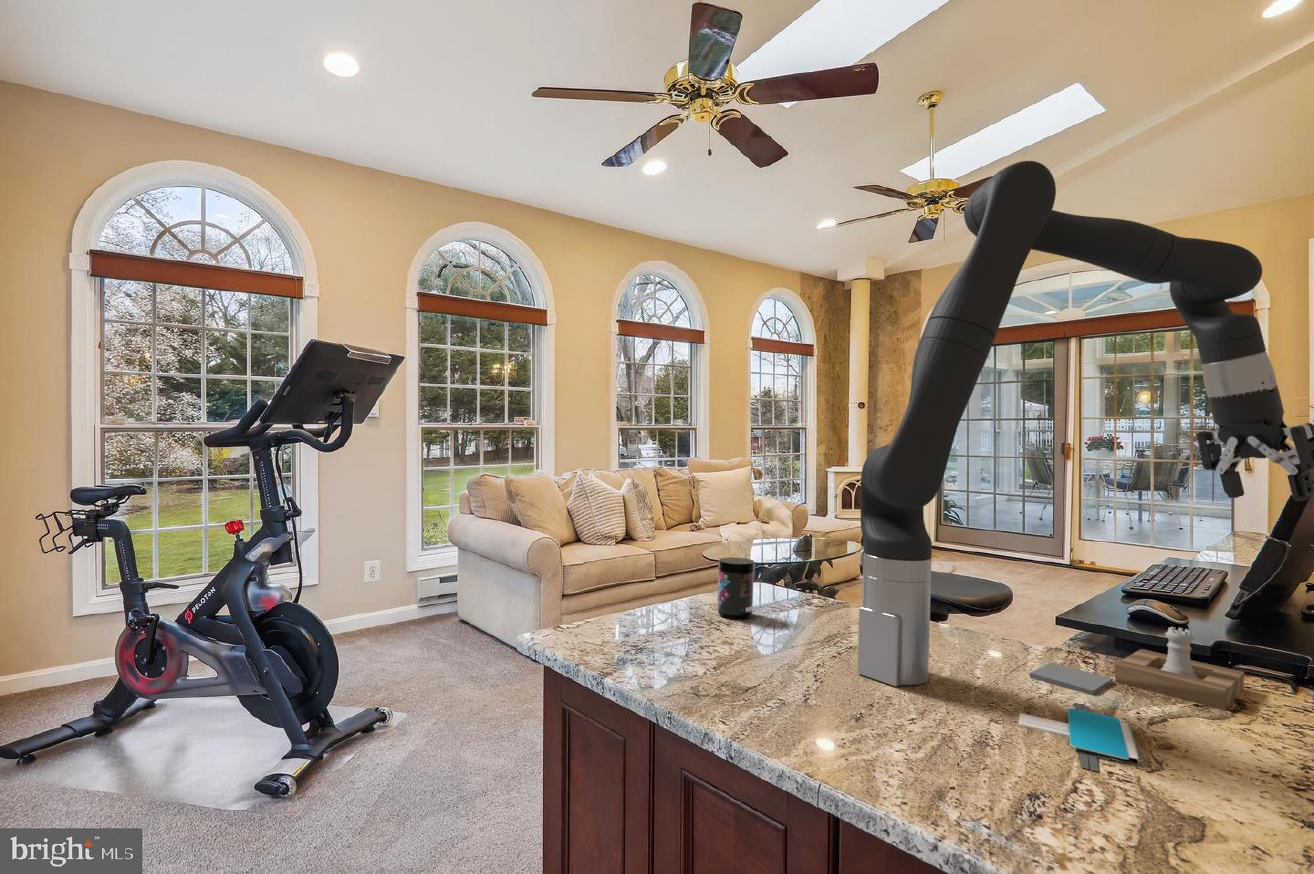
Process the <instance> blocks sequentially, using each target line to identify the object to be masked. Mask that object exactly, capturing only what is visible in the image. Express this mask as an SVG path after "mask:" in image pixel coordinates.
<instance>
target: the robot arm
mask: <svg viewBox="0 0 1314 874" xmlns="http://www.w3.org/2000/svg"><path fill="white" fill-rule="evenodd" d="M1056 187H1057V186H1056V182H1055V178H1054V176H1053V173H1052V172H1051V171H1050V169H1049V168H1048V167H1047V166H1045V164H1043V163H1040V161H1039V162H1037V161H1034V160H1022V161H1018V162H1015V163H1012V164H1010V165H1008V166H1006V167H1004V168H1002V169H1001V170H999V171H998V172H997V173H995V174H994V175H993V176H991V177H989V179H987V181H985V182H984V183H982V184H981V185H980V186H979V187H978V188H977V189H975V191H973V192H972V194H970V196H969V197H968V199H967V201H966V202H965V205H964V208H963V210H964V211H963V218H964V222H965V225H966V227H967V229H968V230H969V232H970V233H971V234H972V235H974V237H975V241H974V243H973V245H972V248H971V250H970V251H969V254H968V255H967V257H966V259H965V260H964V262H963V264H961V266H960V268H959V269H958V271H957V272H956V273H955V275H954V276H953V277H952V279H951V281H949V283H948V285H947V286H946V288H945V289H944V290H943V292H942V294H941V295H940V296H939V298H938V300H937V301H936V303H935V305H934V307H933V309H932V311H931V312H930V315H929V317H928V319H927V322H926V324H925V326H924V330H923V332H922V334H921V336H920V339H919V342H918V345H917V347H916V351H915V354H914V359H913V366H912V375H911V384H910V385H911V387H910V393H909V394H910V395H909V398H908V404H907V407H906V410H905V413H904V414H903V415H904V416H903V417H902V419H901V422H900V423H899V426H898V428H897V431H896V433H895V435H894V436H893V438H892V440H891V442H890V444H887V445H883V446H880V447H878V448H876V449H874V450H873V451H872V452H871V453H870V454H869V455H868V456H867V457H866V459H865V460H864V462H863V465H862V469H861V474H860V529H861V533H862V539H863V565H862V566H863V569H862V596H861V597H862V600H861V601H862V602H861V607H860V608H858V609H859V610H858V635H857V636H858V638H857V639H858V642H857V643H858V644H857V645H858V646H857V671H856V673H857V674H858V675H863V677H867V678H870V679H873V680H876V681H879V682H882V683H885V684H888V685H890V686H893V687H898V686H915V685H916V686H917V685H922V684H925V683H926V682H928V681H929V673H930V672H929V669H930V668H929V667H930V666H929V665H930V662H929V661H930V631H931V630H930V629H931V628H930V625H931V624H930V620H931V593H932V592H931V589H932V588H931V587H932V586H931V585H932V580H931V579H932V555H933V552H932V551H933V548H932V546H933V542H932V539H931V536H930V535H929V533H928V530H927V527H926V523H925V516H924V514H925V513H924V509H925V508H924V507H925V506H928V504H929V503H930V502H932V501H933V500H934V498H935V497H936V496H937V494H938V493H939V491H940V488H941V485H942V483H943V480H944V476H945V473H946V469H947V465H948V462H949V458H950V454H951V451H952V447H953V443H954V439H955V437H956V433H957V429H958V427H959V425H960V422H961V419H962V416H963V415H964V413H965V410H966V409H967V406H968V403H969V401H970V399H971V397H972V395H973V391H974V389H975V386H976V385H977V382H978V380H979V377H980V374H981V373H982V370H983V368H984V366H985V365H986V362H987V359H988V358H989V354H990V352H991V349H992V348H993V344H994V341H995V339H996V338H997V334H998V331H999V329H1000V326H1001V322H1002V319H1003V317H1004V314H1005V312H1006V310H1007V307H1008V306H1009V302H1010V300H1011V297H1012V294H1013V293H1014V292H1013V291H1014V290H1015V286H1016V284H1017V281H1018V279H1019V275H1020V274H1021V271H1022V269H1023V266H1024V264H1025V263H1026V260H1027V258H1028V256H1029V254H1030V252H1031V251H1032V250H1033V251H1038V252H1041V253H1047V254H1050V255H1057V256H1060V257H1065V258H1068V259H1072V260H1075V261H1079V262H1082V263H1087V264H1090V265H1093V266H1097V267H1099V268H1103V269H1106V270H1108V271H1112V272H1114V273H1117V274H1118V275H1123V276H1125V277H1129V278H1132V279H1134V280H1137V281H1140V282H1142V283H1147V284H1152V285H1156V284H1158V285H1159V284H1165V283H1169V293H1170V298H1171V300H1172V302H1173V304H1174V306H1175V308H1176V309H1177V311H1178V313H1179V314H1180V316H1181V318H1182V319H1183V321H1184V324H1186V326H1187V327H1188V329H1189V330H1190V332H1191V334H1192V335H1193V336H1194V338H1195V341H1196V346H1197V350H1198V354H1199V358H1200V363H1201V366H1202V377H1203V384H1204V388H1205V391H1206V392H1205V393H1206V397H1207V400H1208V404H1209V407H1210V411H1211V416H1212V419H1213V423H1214V424H1215V425H1216V426H1218V429H1216V428H1211V429H1210V428H1209V429H1207V430H1203V431H1199V432H1198V433H1197V434H1196V437H1197V442H1198V447H1199V448H1198V449H1199V452H1200V458H1201V463H1202V467H1203V469H1204V470H1207V471H1208V470H1209V471H1210V470H1211V471H1215V472H1216V473H1217V474H1219V476H1220V480H1221V481H1220V482H1221V485H1222V489H1223V492H1224V493H1225V495H1227V497H1228V498H1229V499H1237V498H1241V497H1243V496H1244V495H1245V490H1244V487H1243V483H1242V478H1241V474H1240V471H1239V470H1238V468H1239V466H1240V464H1241V463H1242V461H1243V460H1244V459H1245V460H1247V459H1250V458H1254V459H1268V460H1270V461H1271V462H1272V463H1273V464H1277V465H1279V466H1280V467H1281V468H1282V469H1283V470H1285V472H1287V473H1288V475H1286V477H1287V479H1288V483H1289V488H1290V491H1291V492H1290V493H1291V496H1292V499H1293V501H1297V502H1303V501H1306V500H1310V499H1311V498H1312V495H1314V486H1313V482H1312V478H1311V471H1312V470H1314V423H1312V422H1307V423H1303V424H1298V425H1293V426H1288V425H1286V423H1285V422H1284V419H1283V418H1284V414H1285V409H1284V405H1283V402H1282V397H1281V394H1280V390H1279V386H1278V382H1277V378H1276V373H1275V370H1274V366H1273V364H1272V361H1271V360H1270V357H1269V355H1268V352H1267V349H1266V345H1265V344H1266V343H1265V341H1264V337H1263V333H1262V329H1261V325H1260V323H1259V320H1258V318H1257V317H1255V316H1254V315H1252V314H1250V313H1249V314H1247V313H1235V312H1234V311H1233V310H1232V309H1231V307H1229V305H1228V303H1227V302H1226V300H1231V299H1234V298H1237V297H1240V296H1242V295H1245V294H1248V293H1249V292H1250V291H1252V290H1253V289H1255V288H1256V286H1257V285H1258V284H1259V283H1260V282H1261V279H1262V276H1263V266H1262V263H1261V261H1260V259H1259V258H1258V257H1257V255H1255V254H1254V253H1253V252H1252V251H1250V250H1248V249H1247V248H1245V247H1244V246H1243V247H1242V246H1241V245H1238V244H1234V243H1229V242H1224V241H1217V240H1211V239H1203V238H1196V237H1184V236H1179V235H1176V234H1173V233H1171V232H1168V231H1164V230H1162V229H1159V228H1157V227H1153V226H1150V225H1147V224H1144V223H1140V222H1137V221H1133V220H1127V219H1121V218H1111V217H1100V216H1099V217H1098V216H1087V215H1079V214H1073V213H1072V214H1071V213H1067V212H1061V211H1057V210H1054V209H1053V208H1054V205H1055V200H1056V195H1057V188H1056ZM1287 439H1288V440H1289V441H1291V442H1293V444H1294V446H1293V445H1292V444H1291V443H1290V442H1289V441H1287ZM1221 443H1223V445H1225V447H1224V449H1223V450H1222V447H1221ZM1281 451H1282V452H1281Z"/></svg>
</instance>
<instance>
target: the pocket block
mask: <svg viewBox="0 0 1314 874" xmlns="http://www.w3.org/2000/svg"><path fill="white" fill-rule="evenodd" d="M1167 655H1168V654H1166V653H1160V652H1157V651H1152V650H1148V649H1143V648H1140V649H1138V650H1137V651H1134V652H1133V653H1131V654H1130V655H1128V656H1126V657H1125V658H1123V659H1122V660H1120V661H1118V662H1116V663H1115V668H1114V669H1115V670H1114V672H1115V677H1114V678H1115V679H1114V681H1115V682H1117V683H1121V684H1125V685H1129V686H1133V687H1136V688H1139V689H1144V690H1147V691H1151V692H1155V693H1159V694H1162V695H1166V696H1171V697H1174V698H1177V699H1182V700H1185V701H1189V702H1193V703H1196V704H1200V705H1204V706H1208V707H1212V708H1215V709H1219V710H1222V711H1226V709H1227V708H1228V707H1229V706H1230V705H1232V703H1233V702H1234V701H1235V700H1236V699H1237V698H1238V697H1239V696H1240V694H1242V693H1243V691H1245V672H1244V671H1241V670H1236V669H1232V668H1228V667H1223V666H1220V665H1219V666H1218V665H1215V664H1209V663H1205V662H1200V661H1197V660H1196V661H1195V660H1192V659H1190V660H1191V666H1192V669H1193V670H1194V674H1195V675H1196V676H1197V677H1198V678H1194V677H1190V676H1185V675H1181V674H1177V673H1173V672H1169V671H1165V670H1161V668H1163V667H1164V666H1163V665H1164V664H1165V663H1166V660H1167Z"/></svg>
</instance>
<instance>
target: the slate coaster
mask: <svg viewBox="0 0 1314 874" xmlns="http://www.w3.org/2000/svg"><path fill="white" fill-rule="evenodd" d="M1028 674H1029V678H1032V679H1036V680H1038V681H1042V682H1046V683H1050V684H1053V685H1056V686H1060V687H1064V688H1067V689H1070V690H1075V691H1077V692H1081V693H1085V694H1088V695H1091V696H1094V695H1096V694H1097V693H1099V692H1101V691H1102V690H1104V689H1105V688H1106V687H1108V686H1110V685H1112V684H1113V683H1114V678H1112V677H1109V676H1106V675H1103V674H1102V675H1101V674H1098V673H1095V672H1094V673H1093V672H1089V671H1086V670H1082V669H1079V668H1074V667H1071V666H1067V665H1064V664H1060V663H1055V662H1051V661H1050V662H1048V663H1046V664H1045V665H1042V666H1041V667H1039V668H1036V669H1034V670H1032V671H1030V672H1029V673H1028Z"/></svg>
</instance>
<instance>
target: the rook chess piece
mask: <svg viewBox="0 0 1314 874" xmlns="http://www.w3.org/2000/svg"><path fill="white" fill-rule="evenodd" d="M1167 629H1168V630H1167V631H1166V632H1165V633H1164V635H1165V636H1166V638H1167V639H1168V643H1167V644H1166V646H1167V649H1168V650H1167V654H1166V655H1167V660H1166V663H1165V664H1164V665H1163V666H1164V667H1163V668H1161V670H1165V671H1169V672H1173V673H1177V674H1181V675H1185V676H1190V677H1194V678H1198V677H1197V676H1196V675H1195V674H1194V670H1193V669H1192V666H1191V660H1192V659H1191V651H1192V649H1193V648H1192V647H1191V642H1193V641H1194V639H1195V637H1194V636H1193V635H1192V631H1191V630H1190V629H1187V628H1185V629H1184V628H1183V627H1178V629H1176V627H1175V626H1170V627H1168V628H1167Z"/></svg>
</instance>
